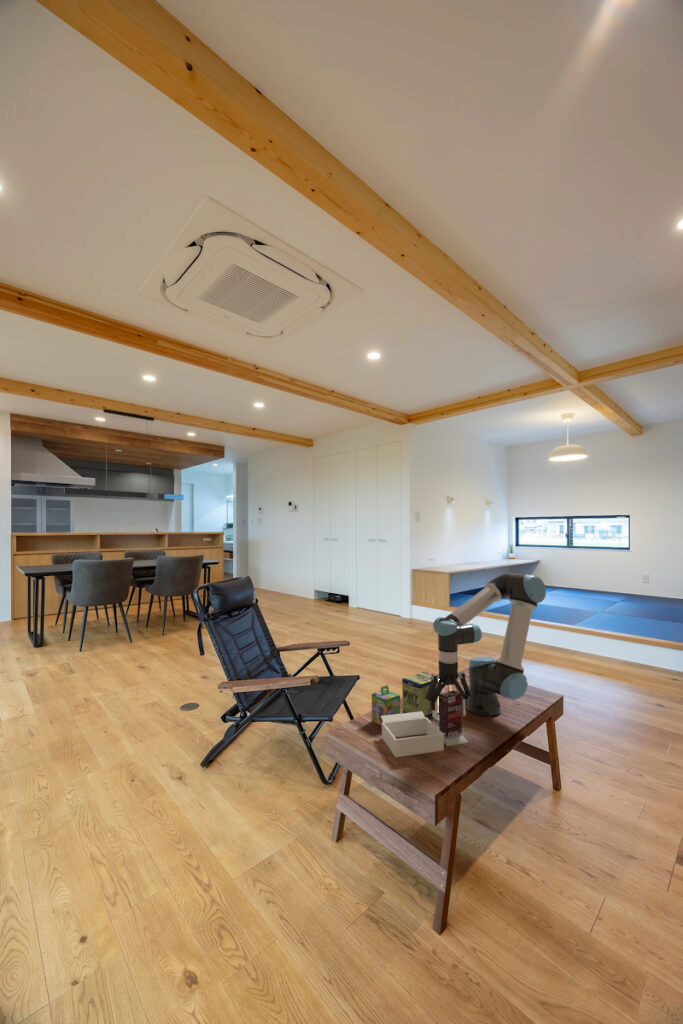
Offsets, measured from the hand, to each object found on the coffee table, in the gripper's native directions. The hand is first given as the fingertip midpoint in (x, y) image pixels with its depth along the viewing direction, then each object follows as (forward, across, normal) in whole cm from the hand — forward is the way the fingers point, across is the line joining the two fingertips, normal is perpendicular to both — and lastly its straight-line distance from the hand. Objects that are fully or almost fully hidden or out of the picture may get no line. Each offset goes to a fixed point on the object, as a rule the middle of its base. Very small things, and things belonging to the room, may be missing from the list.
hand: (449, 716), depth 160 cm
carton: (+8, +17, +2) cm, 19 cm away
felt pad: (+8, 0, 0) cm, 8 cm away
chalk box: (+8, +20, -18) cm, 28 cm away
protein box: (+8, +1, -23) cm, 24 cm away
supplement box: (+7, -1, 0) cm, 7 cm away
